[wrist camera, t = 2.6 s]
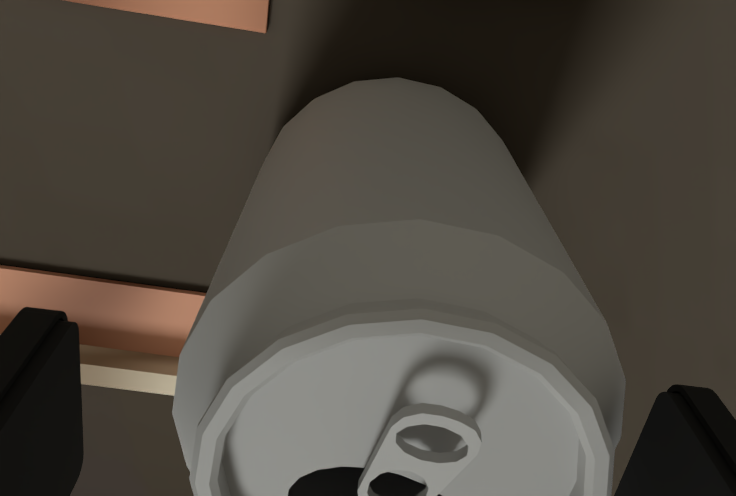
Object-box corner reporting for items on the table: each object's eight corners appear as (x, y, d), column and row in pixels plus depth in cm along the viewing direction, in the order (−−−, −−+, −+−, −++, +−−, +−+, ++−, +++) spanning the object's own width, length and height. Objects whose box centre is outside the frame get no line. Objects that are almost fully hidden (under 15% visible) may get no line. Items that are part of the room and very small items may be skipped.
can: (231, 258, 22) (91, 600, 11) (311, 28, 19) (225, 187, 8) (448, 333, 23) (515, 708, 12) (557, 128, 20) (778, 388, 9)
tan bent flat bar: (607, -46, 18) (659, -37, 15) (477, 411, 24) (493, 485, 21) (-424, -226, 16) (-616, -260, 13) (-267, 315, 23) (-370, 380, 19)
